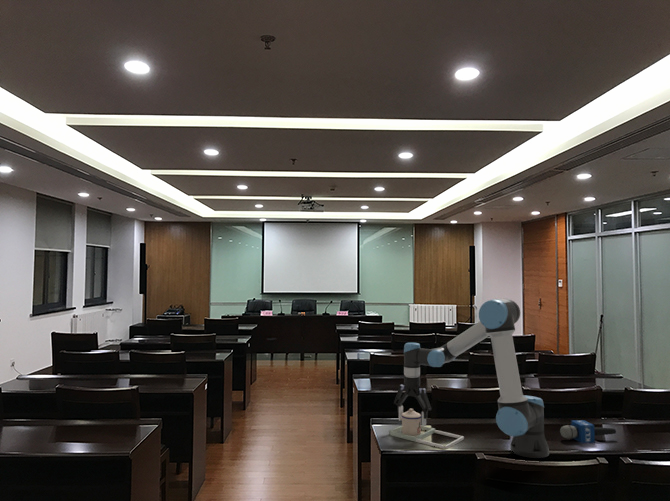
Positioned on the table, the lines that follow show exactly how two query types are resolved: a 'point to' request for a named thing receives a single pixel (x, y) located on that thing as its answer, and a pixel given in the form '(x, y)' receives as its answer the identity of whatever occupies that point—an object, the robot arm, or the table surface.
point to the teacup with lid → (411, 423)
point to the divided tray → (429, 431)
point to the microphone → (584, 431)
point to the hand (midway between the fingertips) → (412, 422)
